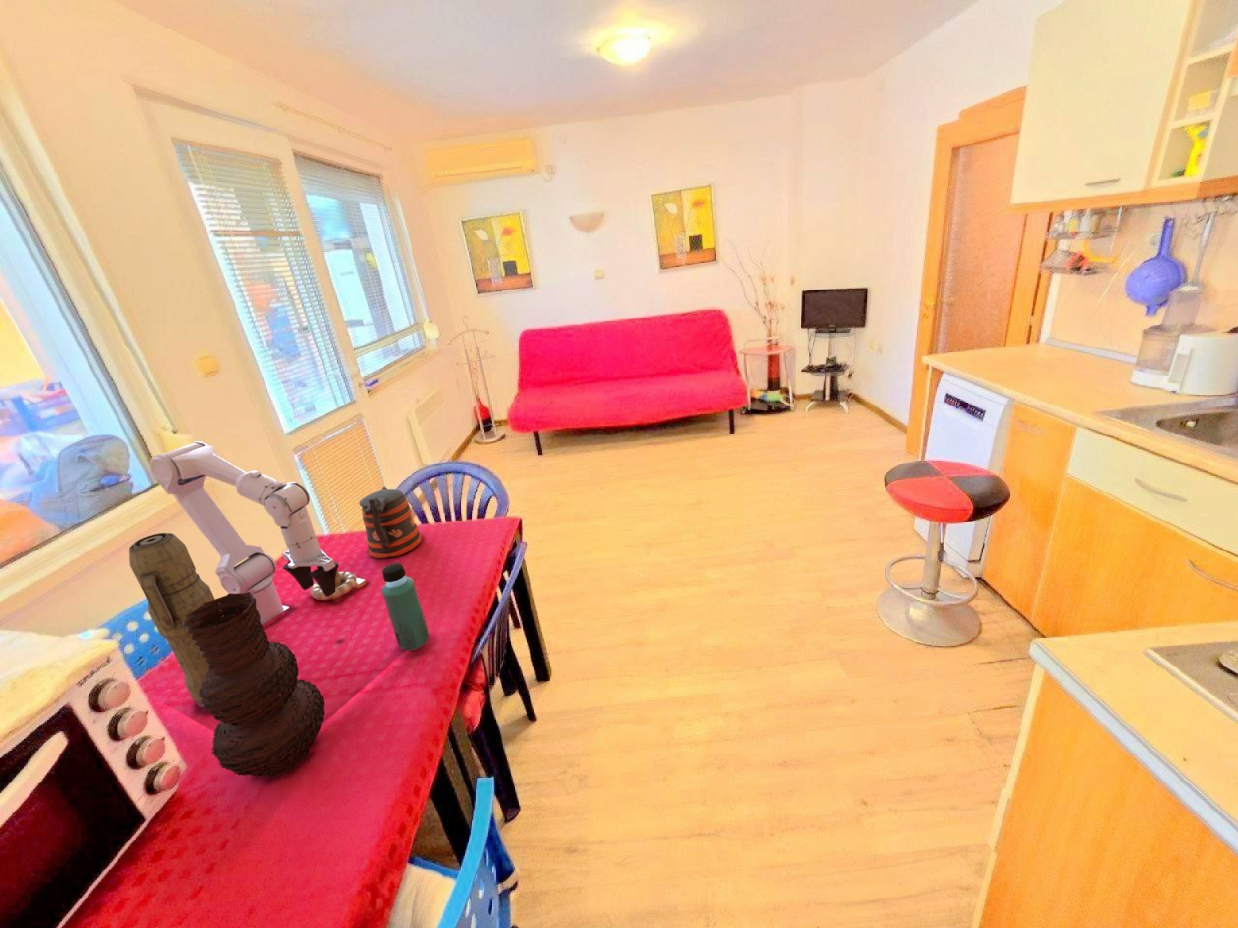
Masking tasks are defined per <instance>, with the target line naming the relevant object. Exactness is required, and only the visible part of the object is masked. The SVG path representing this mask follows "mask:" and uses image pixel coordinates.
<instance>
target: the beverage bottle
mask: <svg viewBox="0 0 1238 928" xmlns="http://www.w3.org/2000/svg"><path fill="white" fill-rule="evenodd" d="M381 574H382V580H383V581H384V582H385V584H384V585H383V586H382V588H381V595H382V597H383V600H384V603H385V606H386V610H387V614H388V617H389V623H390V624H391V627H392V631H393V633H394V636H395V639H396V644H397V645H398V647H399V648H400V649H401V650H402V651H406V652H407V651H408V652H409V651H414V650H417V649H418V650H419V649H420V648H421V647H423V646H425V644H426V643H428V641H429V638H430V632H429V627H428V624H427V620H426V616H425V613H424V609H423V606H422V603H421V601H420V597H419V595H418V591H417V588H416V585H415V581H414V579H413V578H412V577H410V576H407V575H406V570H405V568H404V566H403V564H402V563H400V562H394V563H393V562H392V563H390V564H388V565H386V566H384V568H383V569H382V570H381Z"/></svg>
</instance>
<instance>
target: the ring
mask: <svg viewBox="0 0 1238 928" xmlns="http://www.w3.org/2000/svg"><path fill="white" fill-rule="evenodd" d="M338 573H339V575H340V578H341V581H346V582H345V583H344V584H342V585H340V586H339V587H337V588H335V592H334V593H333V594H331V595H330V596H328V597H327V596H325V595H324V594H323V592H322V590H321V588H320V586H319V584H318V583H317V582H316V581H315V582H314V585H313V586H312V587H310V588H311V589H310V596H311V597H312V598H313V599H315V600H316V601H330V600H333V599H334V598H337V597H339V598H341V597H342V596H344V595H346V594H348V593H350V592H351V591H352V590H353V589H354V588H355V587H354V586H355V585H356V583H357V578H358V576H357V575H356V574H354V573H353V572H351V571H338ZM353 587H354V588H353ZM352 588H353V589H352ZM340 596H341V597H340Z"/></svg>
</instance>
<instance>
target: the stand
mask: <svg viewBox="0 0 1238 928" xmlns="http://www.w3.org/2000/svg"><path fill="white" fill-rule="evenodd" d="M338 572H339V570H338V569H337V572H336V578H335V588H337V587H339V586H340V585H342V584H344V583H345V582H346V581H341V578H340V575H339V573H338ZM367 584H368V583H367V581H366V579H364V578H360V577H357V583H356V585H355V586H354V587H353V588H352V589H351V590H353V589H354V588H357V589H361V588H363V586H366V585H367ZM341 597H342V596H340V597H337V598H334V599H332V600H333V601H337V600H338V599H339V598H341Z"/></svg>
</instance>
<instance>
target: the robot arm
mask: <svg viewBox="0 0 1238 928" xmlns="http://www.w3.org/2000/svg"><path fill="white" fill-rule="evenodd" d="M149 472H150V474H151V475H152V476H153V478H154V479H155V480H156V481H157V483H158V484H159V486H160V487H161V488H162V489H163V490H164V491H165V493H166V494H167V495H172V496H173V497H174V499H175V500H176V501H177V502H178V504H179V505H180V506H181V508H182V509H183V510H184V512H185V513H186V514H187V516H188V517H189V518H190V519H191V521H192V522H193V523H194V524H195V526H196V527H197V529H198V530H199V531H200V532H201V534H202V535H203V536H204V538H205V539H206V541H208V543H209V544H210V545H211V546H212V548H213V549H214V550H215V552H216V553H217V554H218V556H219V557H220V559H219V561H218V563H217V565H216V567H215V569H214V573H215V575H216V576H217V578H218V579H219V582H220V586H221V587H222V588H223V590H224V591H225V592H226V593H227V594H229V593H231V594H237V593H247V592H250V593H251V595H253V597H255V599H256V605H257V606H256V609H257V610H258V611H259V614H260V617H261V619H260V622H261V624H262V625H264V624H266V623H267V622H269V621H271V620H272V619H274V618H275V617H277V616H278V615H280V614H281V613H283V612H285V611H287V610H289V609H290V607H289V606H287V605H284V604H283V603H282V600H281V598H280V595H279V593H278V590H277V588H276V586H275V583H274V581H273V579H274V578H275V575H274V573H275V572H276V571H277V563H276V560H275V559H274V557H273V556H272V555H270V554H268V553H267V552H266V551H265V550H264V549H263V548H262V547H261V545H254V544H246V543H245V541H244V540H243V539H242V537H241V536H240V535H239V533H238V532H237V531H236V529H235V528H234V526H233V525H232V524H231V522H230V521H229V520H228V519H227V517H226V516H225V515H224V513H223V512H222V510H221V509H220V507H219V506H218V505H217V504H216V502H215V501H214V500H213V498H212V497H211V496H210V495H209V493H208V492H207V491H206V488H204V486H205V485H204V484H205V481H206V480H207V479H208V478H212V479H214V480H217V481H220V482H222V483H226V484H228V485H230V486H233V487H236V492H237V494H238V495H239V496H242V497H244V498H246V499H247V500H249V501H253V502H255V503H257V504H259V505H261V506H263V508H264V510H265V511H266V513H267V514H268V515H269V516H270V517H271V518H272V519H273V522H274V524H276V526H278V527H279V529H280V532H281V535H282V537H283V540H284V543H285V546H286V548H287V550H285V551H284V552H282V555H283V558H284V560H285V561H286V562H287V563H285V564H284V565H283V566H282V569H283V570H284V571H286V572H287V573H288V574H290V575H291V576H292V577H293V578H294V580H295V581H296V582H297V583H298V585H299V586H300V587H301V588H302V590H304V591H307V590H308V589H310V588H312V586H313V585H314V584H315V583H316V582H317V583H318V584H319V586H320V588H321V590H322V592H323V594H324V595H325V596H327V597H328V596H330V595H331V594H333V593H334V592H335V578H336V572H337V570H338V569H339V566H340V565H339V563H338V562H337V561H334V559H333V558H331V557H329V555H327V554H326V553H325V551H324V550H323V549H321V546H320V543H319V540H318V537H317V534H316V531H315V528H314V526H313V523H312V520H311V517H310V514H309V511H308V509H307V506H308V505H309V504H310V502H311V497H310V494H309V491H308V490H307V489H306V488H305V486H303V485H302V484H300V483H299V482H296V481H291V482H287V481H286V482H281V481H279V480H277V479H275V478H272V477H271V476H268V475H266V474H264V473H262V472H261V471H258V470H251V471H248V472H247V471H245V470H243V469H241V468H239V467H238V466H237V465H234V464H233V463H231V462H229V461H227V460H225V459H223V458H222V457H220V456H219V455H218V453H217V451H216V449H215V448H214V447H213V446H212V445H209V444H207V443H205V442H204V441H201V440H196V441H194V442H192V443H189V444H186V445H184V446H181V447H177V448H175V449H173V450H169V451H166V452H164V453H161V454H155V455H153V456H152V457H151V458H150V465H149ZM312 567H316V569H314V570H313V571H312ZM314 581H315V582H314ZM244 607H245V606H244ZM259 614H258V615H259Z"/></svg>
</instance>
